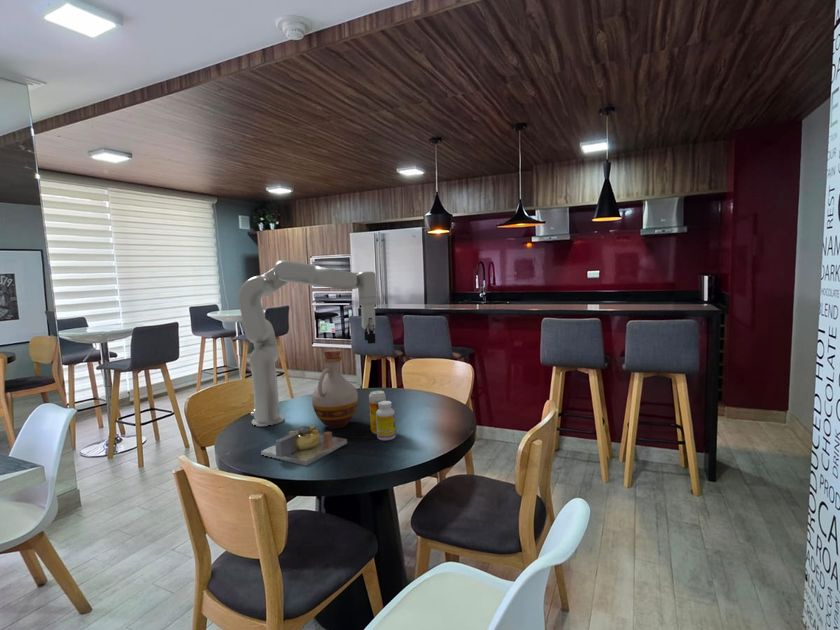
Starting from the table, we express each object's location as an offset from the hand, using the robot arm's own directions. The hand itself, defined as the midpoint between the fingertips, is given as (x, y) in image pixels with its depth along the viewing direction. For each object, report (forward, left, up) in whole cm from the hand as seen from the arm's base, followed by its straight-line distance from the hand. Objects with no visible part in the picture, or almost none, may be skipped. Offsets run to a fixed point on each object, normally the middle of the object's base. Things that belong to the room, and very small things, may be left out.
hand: (370, 341), depth 185 cm
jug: (-4, -20, -31) cm, 37 cm away
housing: (+2, -43, -31) cm, 53 cm away
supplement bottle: (+22, -23, -31) cm, 44 cm away
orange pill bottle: (+16, -19, -31) cm, 39 cm away
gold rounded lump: (+2, -46, -29) cm, 54 cm away
